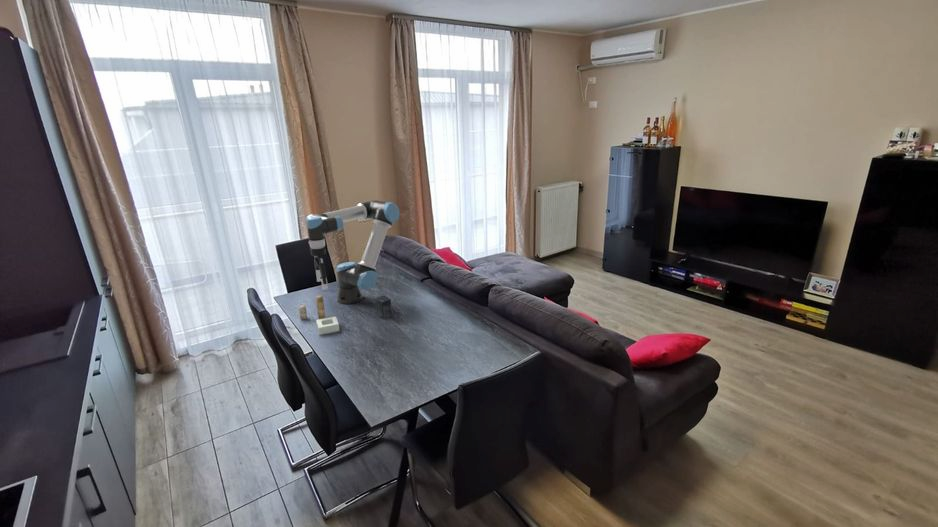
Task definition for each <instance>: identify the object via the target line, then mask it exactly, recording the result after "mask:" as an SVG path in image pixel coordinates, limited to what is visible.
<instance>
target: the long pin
mask: <svg viewBox="0 0 938 527" xmlns="http://www.w3.org/2000/svg"><path fill="white" fill-rule="evenodd" d="M315 300H316V308H317V309H316V310H317V316H318V320H319V319H324V318H327V317H326V311H325V302H324V296H323V295H317V296H315Z"/></svg>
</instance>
